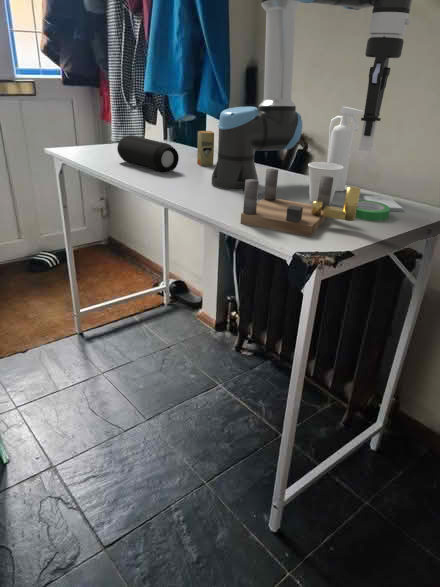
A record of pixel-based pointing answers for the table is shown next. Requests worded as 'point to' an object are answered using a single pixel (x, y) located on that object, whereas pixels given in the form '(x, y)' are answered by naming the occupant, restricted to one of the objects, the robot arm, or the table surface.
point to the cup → (322, 170)
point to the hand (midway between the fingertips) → (365, 149)
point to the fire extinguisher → (342, 142)
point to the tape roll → (372, 210)
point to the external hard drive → (385, 202)
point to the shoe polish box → (205, 148)
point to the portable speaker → (148, 153)
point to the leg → (340, 213)
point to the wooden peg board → (283, 207)
